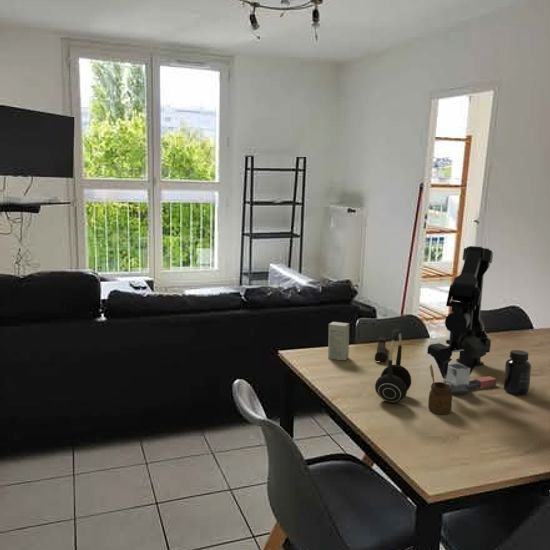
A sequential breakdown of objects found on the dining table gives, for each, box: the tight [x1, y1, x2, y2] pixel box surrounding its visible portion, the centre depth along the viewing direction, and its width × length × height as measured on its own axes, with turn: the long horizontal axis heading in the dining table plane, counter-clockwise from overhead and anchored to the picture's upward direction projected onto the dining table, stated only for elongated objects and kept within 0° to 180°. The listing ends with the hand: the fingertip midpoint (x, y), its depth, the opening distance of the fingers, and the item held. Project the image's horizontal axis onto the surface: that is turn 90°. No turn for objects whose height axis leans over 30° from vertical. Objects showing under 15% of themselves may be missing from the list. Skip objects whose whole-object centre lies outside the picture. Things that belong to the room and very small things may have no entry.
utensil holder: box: [427, 364, 454, 415], centre depth 138 cm, size 6×6×12 cm
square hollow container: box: [443, 362, 471, 387], centre depth 152 cm, size 5×5×5 cm
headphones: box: [374, 328, 412, 403], centre depth 145 cm, size 9×15×20 cm, turn 157°
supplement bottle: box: [503, 349, 532, 396], centre depth 152 cm, size 7×7×12 cm
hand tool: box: [374, 335, 388, 363], centre depth 184 cm, size 19×4×5 cm, turn 165°
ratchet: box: [442, 375, 497, 396], centre depth 155 cm, size 18×7×5 cm, turn 114°
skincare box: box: [327, 321, 350, 361], centre depth 178 cm, size 6×4×12 cm
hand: (456, 376), depth 152 cm, fingers open, 9 cm apart
